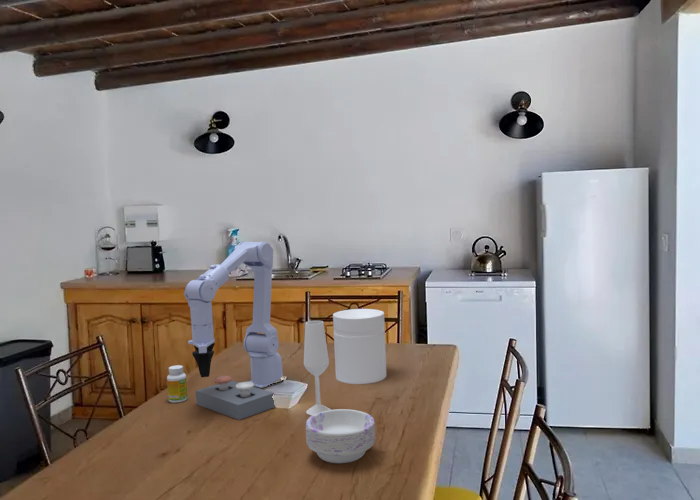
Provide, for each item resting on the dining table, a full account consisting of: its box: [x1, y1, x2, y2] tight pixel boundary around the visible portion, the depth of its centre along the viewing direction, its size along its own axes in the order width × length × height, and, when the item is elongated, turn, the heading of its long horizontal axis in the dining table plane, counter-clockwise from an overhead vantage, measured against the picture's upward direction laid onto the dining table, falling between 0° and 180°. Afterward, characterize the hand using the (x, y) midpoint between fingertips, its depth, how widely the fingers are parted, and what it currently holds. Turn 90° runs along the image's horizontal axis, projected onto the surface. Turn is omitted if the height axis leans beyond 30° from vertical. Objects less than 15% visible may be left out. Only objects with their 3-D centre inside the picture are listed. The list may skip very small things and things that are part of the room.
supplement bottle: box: [166, 364, 188, 404], centre depth 178 cm, size 5×5×10 cm
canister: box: [332, 308, 387, 385], centre depth 193 cm, size 16×16×20 cm
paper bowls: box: [305, 408, 376, 464], centre depth 135 cm, size 15×15×8 cm
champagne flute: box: [303, 320, 332, 416], centre depth 163 cm, size 7×7×24 cm
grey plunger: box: [236, 381, 255, 398], centre depth 167 cm, size 5×5×4 cm
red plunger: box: [213, 375, 233, 391], centre depth 174 cm, size 5×5×4 cm
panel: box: [195, 380, 276, 421], centre depth 171 cm, size 12×20×4 cm, turn 47°
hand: (205, 372), depth 169 cm, fingers open, 7 cm apart
